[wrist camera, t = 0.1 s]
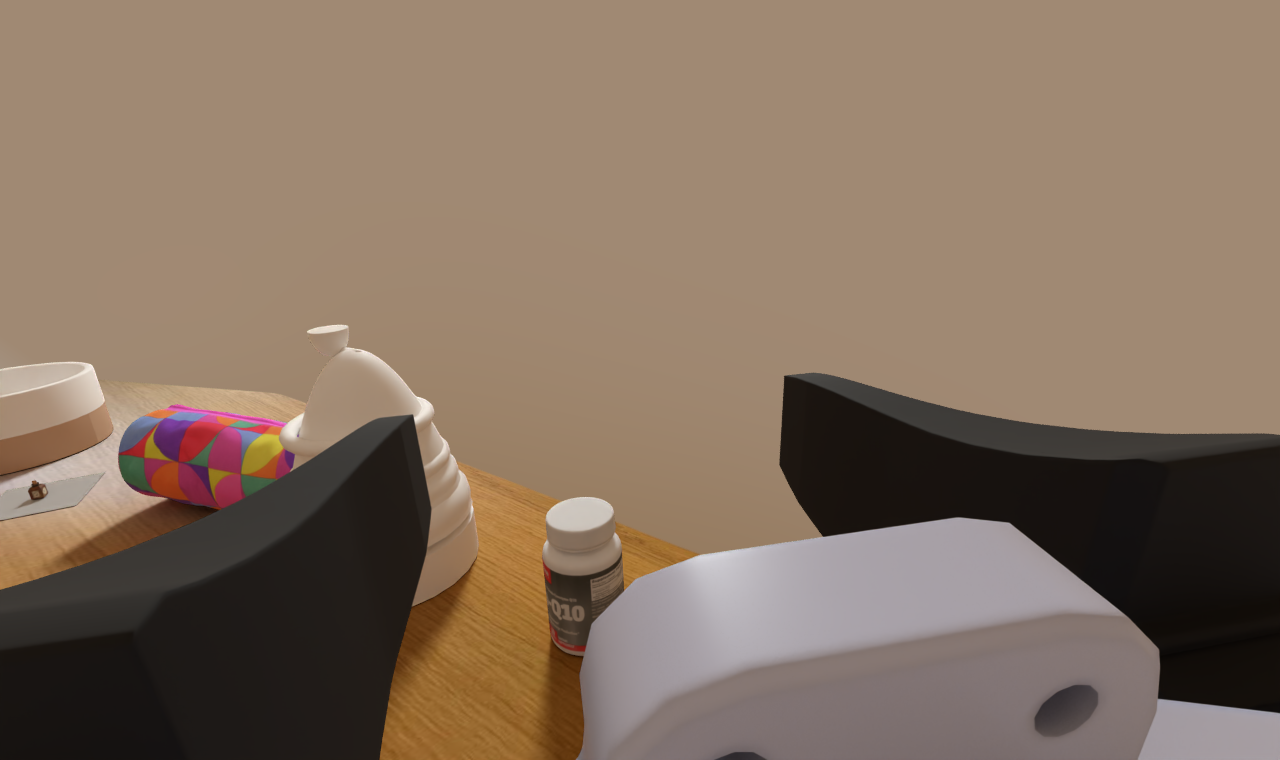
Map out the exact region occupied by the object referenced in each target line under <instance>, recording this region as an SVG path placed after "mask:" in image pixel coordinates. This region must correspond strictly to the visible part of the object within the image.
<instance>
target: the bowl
mask: <svg viewBox="0 0 1280 760" xmlns="http://www.w3.org/2000/svg"><path fill="white" fill-rule="evenodd" d="M112 431H113V425H112V422H111V419H110V416H109V413H108V410H107V407H106V404H105V400H104V397H103V394H102V391H101V388H100V385H99V382H98V379H97V376H96V373H95V370H94V368H93V366H92V365H90V364H87V363H80V362H57V363H45V364H34V365H26V366H19V367H12V368H5V369H0V475H3V474H8V473H12V472H16V471H20V470H24V469H28V468H32V467H36V466H39V465H42V464H46V463H49V462H52V461H55V460H58V459H61V458H64V457H67V456H70V455H72V454H75V453H77V452H80V451H82V450H85V449H87V448H89V447H91V446H93V445H95V444H97V443H99V442H101V441H102V440H104V439H105V438H107V437H108V436H109V435H110V434H111V433H112Z"/></svg>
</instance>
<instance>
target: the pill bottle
mask: <svg viewBox="0 0 1280 760" xmlns="http://www.w3.org/2000/svg"><path fill="white" fill-rule="evenodd" d="M615 528H616V525H615V519H614V511H613V508H612V506H611V505H610V504H609V503H608V502H606V501H604V500H602V499H598V498H592V497H579V498H574V499H569V500H566V501H563V502H560V503H558V504H557V505H555V506H553V507H552V508H551V509H550V510H549V511H548V513H547V515H546V530H547V541H546V542H545V544H544V547H543V555H542V559H543V567H544V577H545V586H546V596H547V604H548V614H549V624H550V633H551V637H552V639H553V641H554V643H555V644H556V645H557V647H558V648H560V649H561V650H562V651H564V652H566V653H568V654H572V655H577V656H584V653H585V649H586V645H587V641H588V637H589V633H590V629H591V625H592V623H593V622H594V621H595V620H596V619H597V618H598V617H599V616H600V615H601V614H602V613H603V612H604V611H605V610H606V609H607V608H608V607H609V606H610V605H611V604H612V603H613V602H614V601H615V600H616V599H617V598H618V597H619V596H620V595H621V594H622V593H623V592H624V581H623V563H622V548H621V542H620V539H619V537H618V536H617V534H616V533H615Z"/></svg>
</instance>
